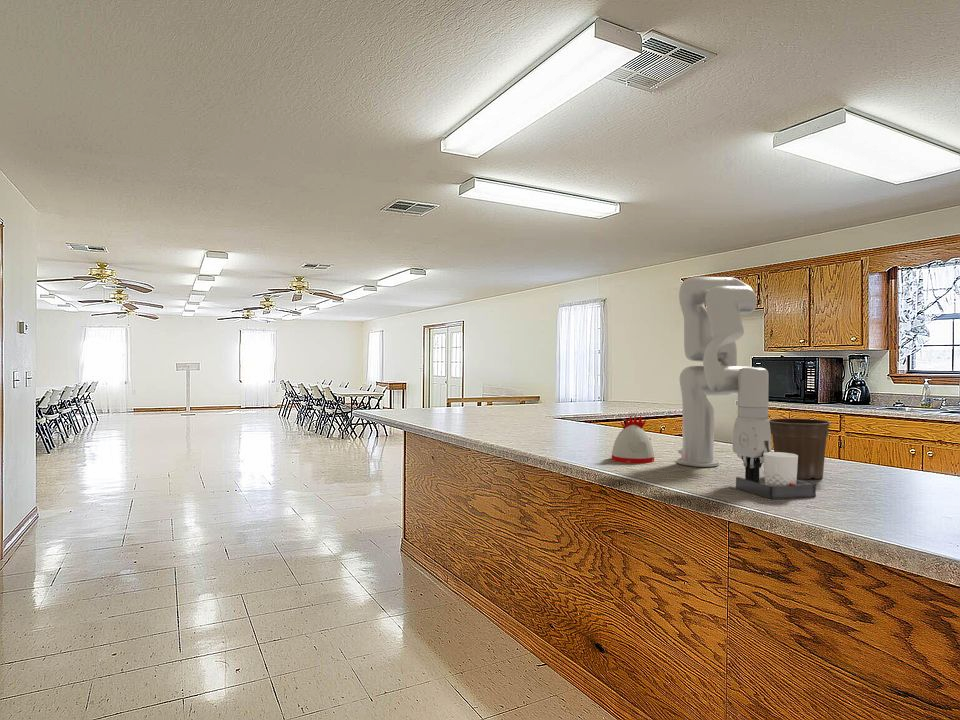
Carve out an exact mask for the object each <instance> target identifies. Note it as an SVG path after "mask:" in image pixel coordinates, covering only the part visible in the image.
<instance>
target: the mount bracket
mask: <svg viewBox="0 0 960 720" xmlns="http://www.w3.org/2000/svg"><path fill="white" fill-rule="evenodd" d="M816 487H817V484H816V483H812V482H809V481H808V482H807V481H804V480H802V479H797V481H796V484H795V483H790V485H781V486H771V485H767V484H765V483H762V482H760V481H759V482H756V481H752V480H749V479H745V477H742V476H741V477H740V476H736V477H735V489H737V490H740V491H743V492H745V493H749V494H753V495H756V496H760V497H763V498H766V499H769V500H783V499H797V498H809V497H811V498H812V497H816V496H817V490H816V489H817V488H816Z"/></svg>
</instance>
